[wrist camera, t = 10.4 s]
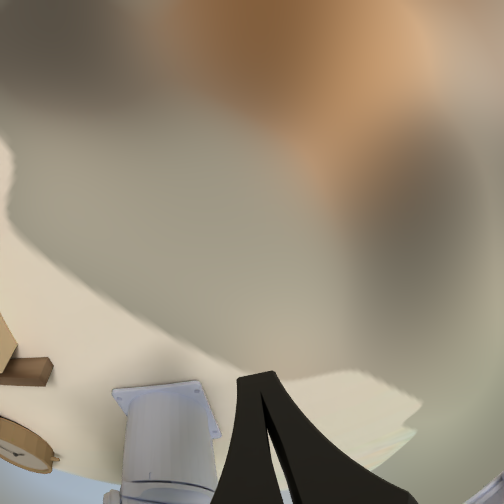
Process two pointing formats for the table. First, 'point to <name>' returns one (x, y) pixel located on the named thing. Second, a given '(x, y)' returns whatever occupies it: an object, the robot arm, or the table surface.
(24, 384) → the frame
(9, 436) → the alarm clock
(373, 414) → the table surface
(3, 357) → the small carton
